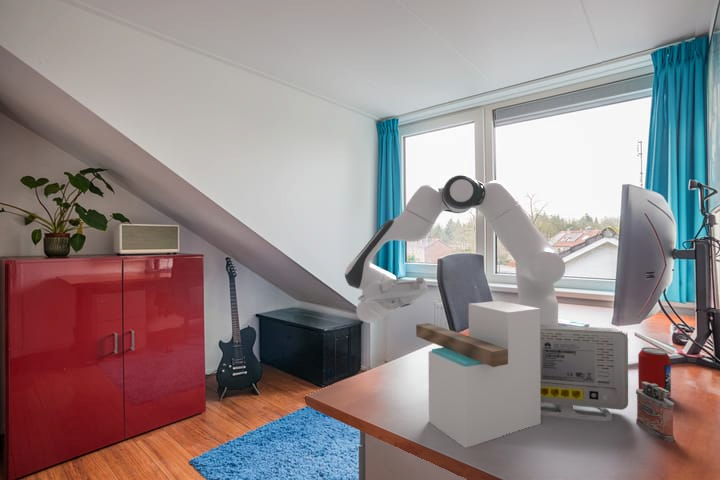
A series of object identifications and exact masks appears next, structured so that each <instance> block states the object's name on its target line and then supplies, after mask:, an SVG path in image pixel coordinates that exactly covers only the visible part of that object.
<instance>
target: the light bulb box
mask: <svg viewBox="0 0 720 480" xmlns="http://www.w3.org/2000/svg"><path fill="white" fill-rule="evenodd" d="M558 326H576V327H590V323H589V322H588V323H587V322H580V321H573V320H566V319H561V318H560V319H559V318H558Z"/></svg>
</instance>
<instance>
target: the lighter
mask: <svg viewBox="0 0 720 480" xmlns="http://www.w3.org/2000/svg"><path fill="white" fill-rule="evenodd" d="M635 395H636V409H637V410H636V412H637V413H636V415H637V416H636V417H637V418H636V420H635V423H636V425H638V426H639V427H640V428H641V429H642V430H644V431H646V432H648V433H649V434H651V435H653V436H655V437H657V438H659V439H660V440H661V439H662V440H663V439H664V440H663V441H666V440H668V442H673V440H674V441H675V434H674V408H675V403H674V402H673V401H671V400H670V399H671V398H670V397H671V396H670V392H669V391H667V390H665V389H663V388H660V387H659V386H658V385H657V384H650V383H648V382H642V389H639V388H637V389H635ZM664 397H666V398H664ZM668 398H669V399H668Z"/></svg>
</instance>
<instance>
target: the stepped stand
mask: <svg viewBox="0 0 720 480" xmlns="http://www.w3.org/2000/svg"><path fill="white" fill-rule="evenodd" d="M468 336H469V337H472V338H476V339H479V340H482V341H485V342H488V343H491V344H494V345H497V346H500V347H503V348H506V349H508V364H506V365H501V366H497V367H492V366H489V365H487V364H484V363H482V362H479V361H477V360H474V359H472V358H469V357H467V356H464V355H462V354H459V353H457V352H454V351H452V350H449V349H447V348H444V347H437V348H432V349H431V351H428V422H429V423H430V424H431V425H433V426H434V427H435V428H437V429H438V430H439V431H441V432H443V433H444V434H445V435H446V436H448V437H449V438H451V439H452V440H453V441H454V442H456V443H458V444H459V445H460V446H462V447H463V448H464V449H467V448H471V447H474V446H476V445H479V444H482V443H485V442H489V441H491V440H495V439H498V438H500V437H504V436H507V435H510V434H513V433H516V432H519V431H518V430H520V431H523V430H525V428H526V429H528V427H529V428H531V427H535V426H538V425H541V423H542V422H541V420H542V419H541V418H542V417H541V416H542V415H541V411H542V410H541V407H542V405H541V404H542V403H541V401H540V308H535V307H529V306H524V305H519V303H518V304H517V303H512V302H506V301H501V300H494V301H493V300H492V301H491V300H490V301H483V302H474V303H473V302H471V303H468ZM522 429H523V430H522ZM515 431H516V432H515ZM512 432H513V433H512ZM509 433H510V434H509ZM506 434H507V435H506ZM503 435H504V436H503Z"/></svg>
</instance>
